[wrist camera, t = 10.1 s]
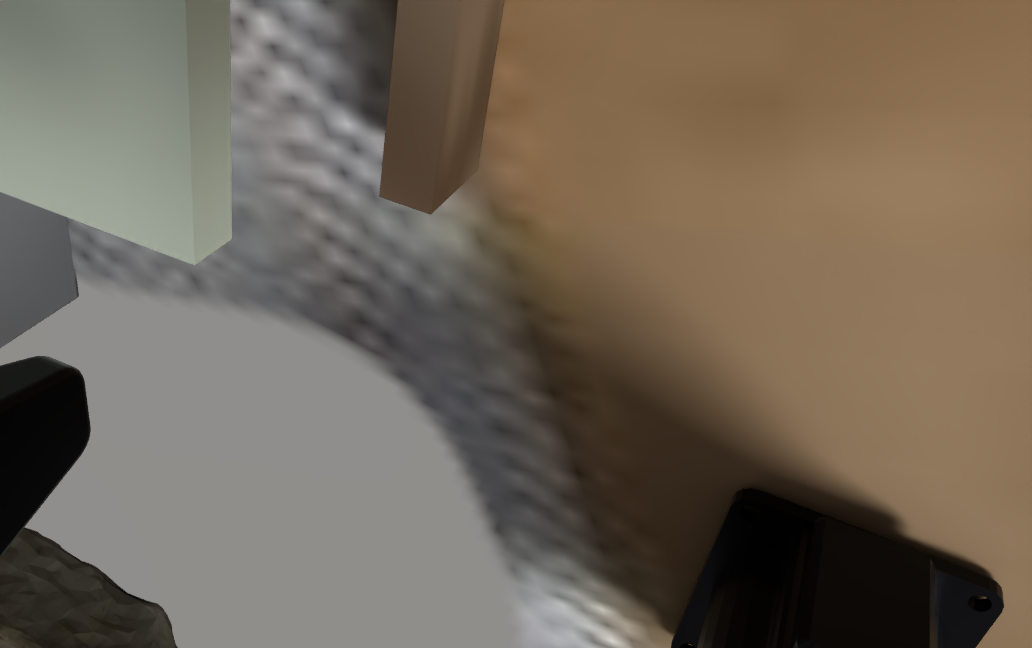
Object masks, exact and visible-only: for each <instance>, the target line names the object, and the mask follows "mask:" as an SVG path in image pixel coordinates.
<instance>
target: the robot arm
mask: <svg viewBox="0 0 1032 648" xmlns="http://www.w3.org/2000/svg"><path fill="white" fill-rule="evenodd" d="M85 390H86V389H85V382H84V378H83V376H82V374H81V373H80V371H79V370H78V369H76V368H75V367H72V366H70V365H67V364H65V363H63V362H60V361H58V360H55V359H53V358H50V357H46V356H36V357H31V358H27V359H24V360H20V361H16V362H12V363H9V364H5V365H2V366H0V557H1V556H2V555H3V553H4V552H5V551H6V550H7V548H8V547H9V546H10V545H11V543H12V542H13V541H14V539H15V538H16V537H17V536H18V534H19V533H20V532H21V531H22V529H23V528H24V527H25V526H26V524H27V523H28V522H29V520H30V519H31V518H32V517H33V515H34V514H35V513H36V511H37V510H38V509H39V508H40V506H41V505H42V504H43V503H44V501H45V500H46V499H47V498H48V496H49V495H50V494H51V493H52V491H53V490H54V489H55V487H56V486H57V485H58V484H59V482H60V481H61V480H62V479H63V477H64V476H65V475H66V474H67V472H68V471H69V470H70V468H71V467H72V466H73V465H74V463H75V462H76V461H77V460H78V458H79V457H80V456H81V454H82V453H83V451H84V449H85V447H86V446H87V443H88V440H89V437H90V420H89V412H88V405H87V397H86V391H85ZM747 506H749V507H754V508H755V509H757V510H758V512H750V511H748V510H747V509H745V508H744V507H747ZM977 595H980V596H985V597H986V599H976V598H973V597H972V596H977ZM1003 608H1004V600H1003V592H1002V588H1001V586H1000V585H999V584H998V583H997V582H996V581H994V580H992V579H991V578H989V577H986V576H984V575H981V574H978V573H976V572H973V571H970V570H968V569H965V568H963V567H960V566H957V565H955V564H952V563H949V562H947V561H944V560H942V559H939V558H936V557H934V556H931V555H928V554H926V553H923V552H921V551H918V550H915V549H913V548H910V547H907V546H905V545H902V544H900V543H897V542H894V541H892V540H889V539H886V538H884V537H881V536H879V535H876V534H873V533H871V532H868V531H865V530H863V529H860V528H858V527H855V526H852V525H850V524H847V523H844V522H842V521H839V520H837V519H834V518H831V517H829V516H826V515H823V514H821V513H818V512H816V511H813V510H810V509H808V508H805V507H802V506H800V505H797V504H795V503H792V502H789V501H787V500H784V499H781V498H779V497H776V496H774V495H771V494H768V493H766V492H763V491H760V490H757V489H752V488H747V489H742V490H740V491H738V492H736V494H735V495H734V496H733V498H732V501H731V503H730V505H729V508H728V510H727V512H726V514H725V517H724V519H723V521H722V524H721V526H720V528H719V531H718V533H717V535H716V538H715V540H714V542H713V545H712V547H711V549H710V552H709V554H708V556H707V559H706V561H705V563H704V566H703V568H702V570H701V572H700V575H699V577H698V579H697V582H696V584H695V586H694V589H693V591H692V593H691V596H690V598H689V600H688V603H687V605H686V607H685V610H684V612H683V614H682V617H681V619H680V621H679V624H678V626H677V628H676V631H675V633H674V637H673V640H672V644H671V648H976V646H977V645H978V644H979V642H980V641H981V640H982V638H983V637H984V635H985V634H986V633H987V631H988V630H989V629H990V627H991V626H992V625H993V623H994V622H995V621H996V619H997V618H998V617H999V615H1000V614H1001V613H1002V610H1003ZM688 644H691V645H693V646H691V645H688Z"/></svg>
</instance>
